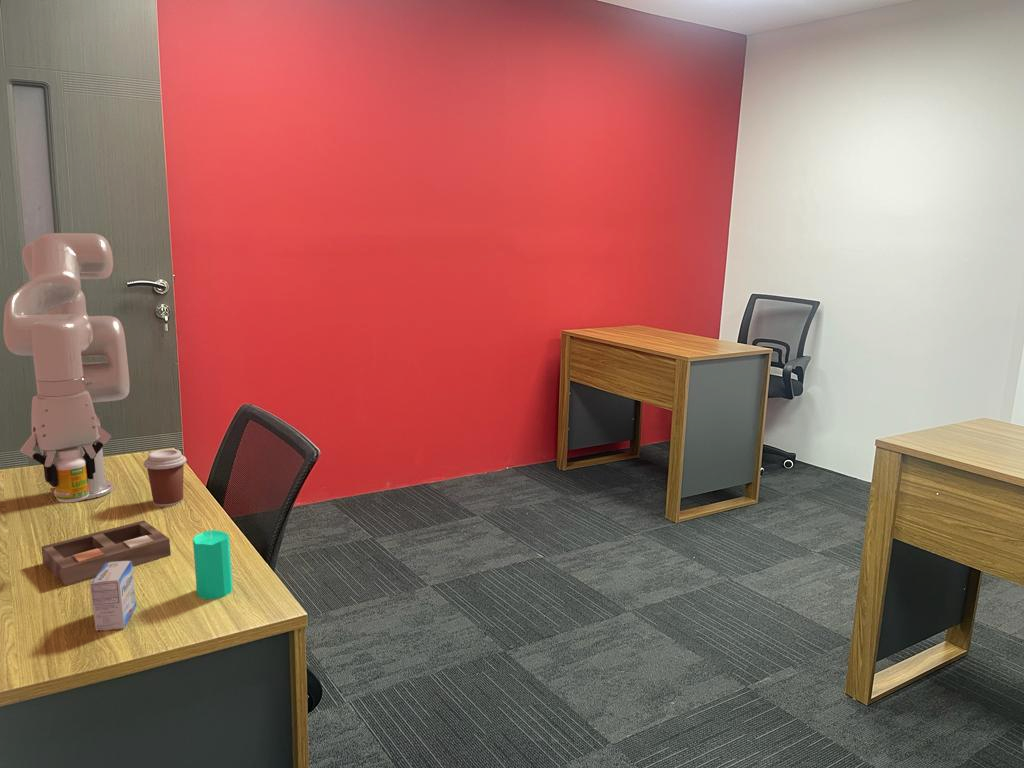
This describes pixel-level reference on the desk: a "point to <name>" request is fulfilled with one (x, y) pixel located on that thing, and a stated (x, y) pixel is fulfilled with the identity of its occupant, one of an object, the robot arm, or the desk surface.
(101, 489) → the robot arm
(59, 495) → the supplement bottle
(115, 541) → the socket block
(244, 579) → the desk surface
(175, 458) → the coffee cup
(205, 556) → the candle
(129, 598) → the medicine box
